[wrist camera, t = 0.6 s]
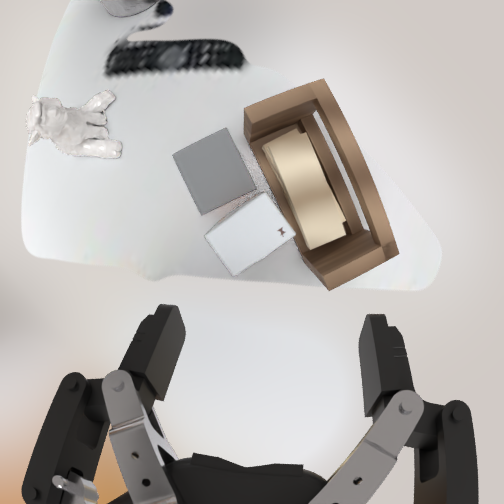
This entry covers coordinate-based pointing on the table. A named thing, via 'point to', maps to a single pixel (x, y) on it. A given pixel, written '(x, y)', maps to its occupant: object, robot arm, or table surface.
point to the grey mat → (214, 171)
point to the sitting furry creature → (73, 126)
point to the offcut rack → (356, 239)
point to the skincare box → (249, 233)
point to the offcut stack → (305, 188)
